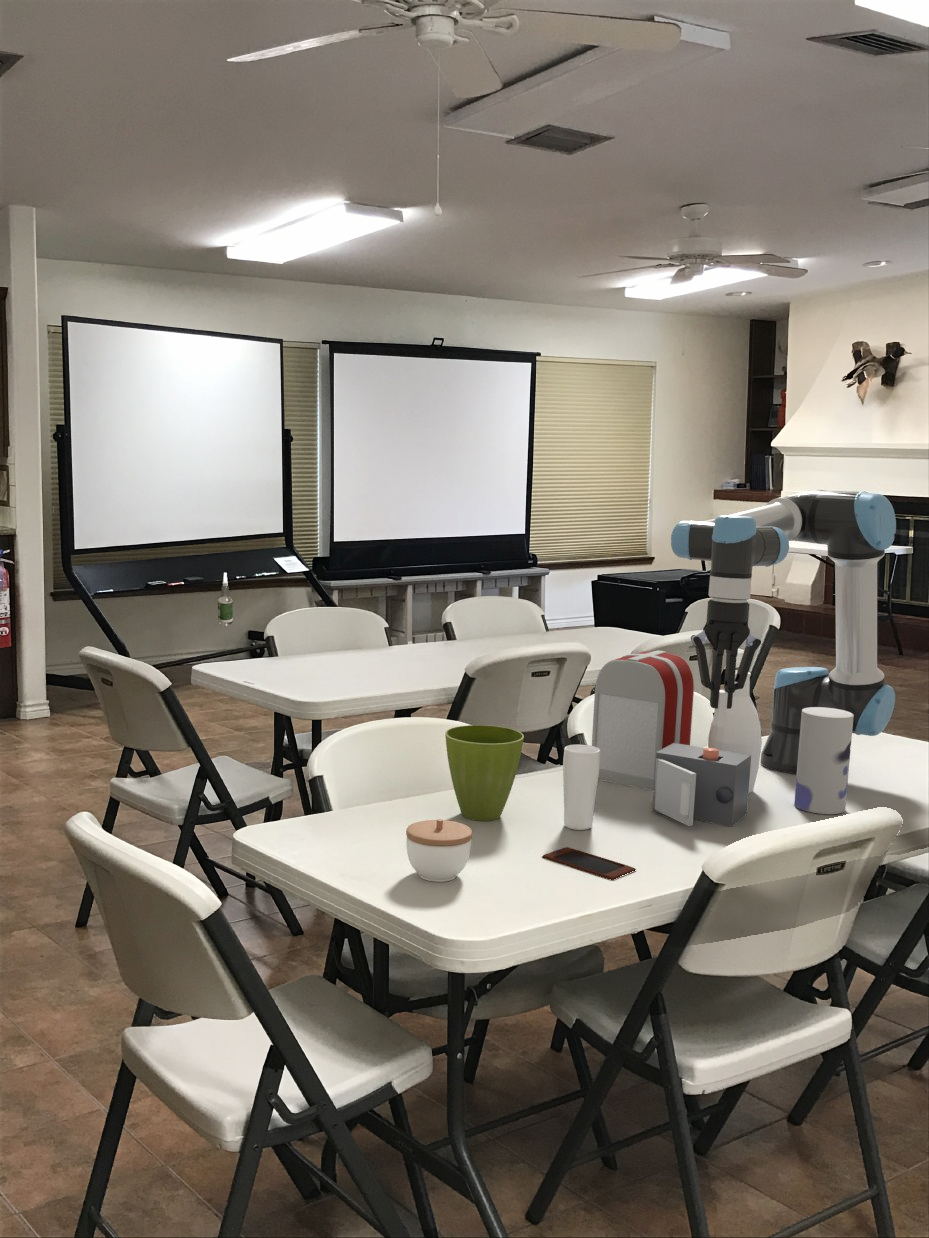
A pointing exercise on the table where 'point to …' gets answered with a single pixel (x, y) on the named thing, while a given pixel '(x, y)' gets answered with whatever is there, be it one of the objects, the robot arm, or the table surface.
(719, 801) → the box
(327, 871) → the table surface
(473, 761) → the flower pot
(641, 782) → the striped box
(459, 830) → the lidded jar
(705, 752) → the latch button
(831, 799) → the container
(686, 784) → the side door
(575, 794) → the drinking glass
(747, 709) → the bottle
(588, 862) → the smartphone
